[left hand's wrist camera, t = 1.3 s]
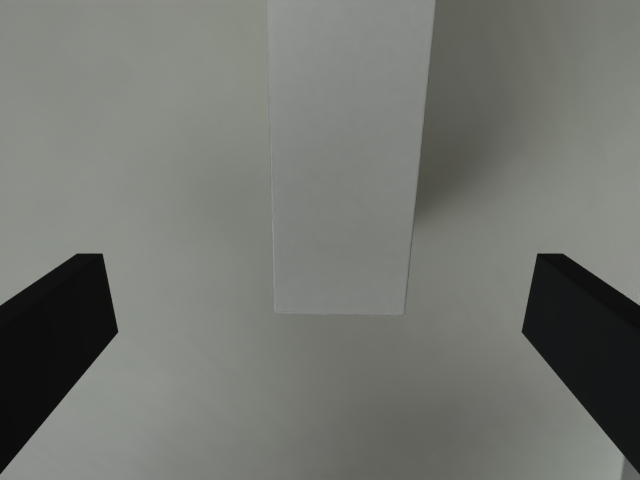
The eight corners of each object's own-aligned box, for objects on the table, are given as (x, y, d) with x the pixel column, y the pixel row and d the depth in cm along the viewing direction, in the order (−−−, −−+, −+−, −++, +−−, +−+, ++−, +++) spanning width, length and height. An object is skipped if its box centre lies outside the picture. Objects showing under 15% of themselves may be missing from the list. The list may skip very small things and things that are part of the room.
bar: (378, 246, 26) (404, 316, 18) (288, 244, 26) (274, 314, 18) (419, -328, 17) (509, -702, 9) (282, -332, 17) (249, -712, 9)
